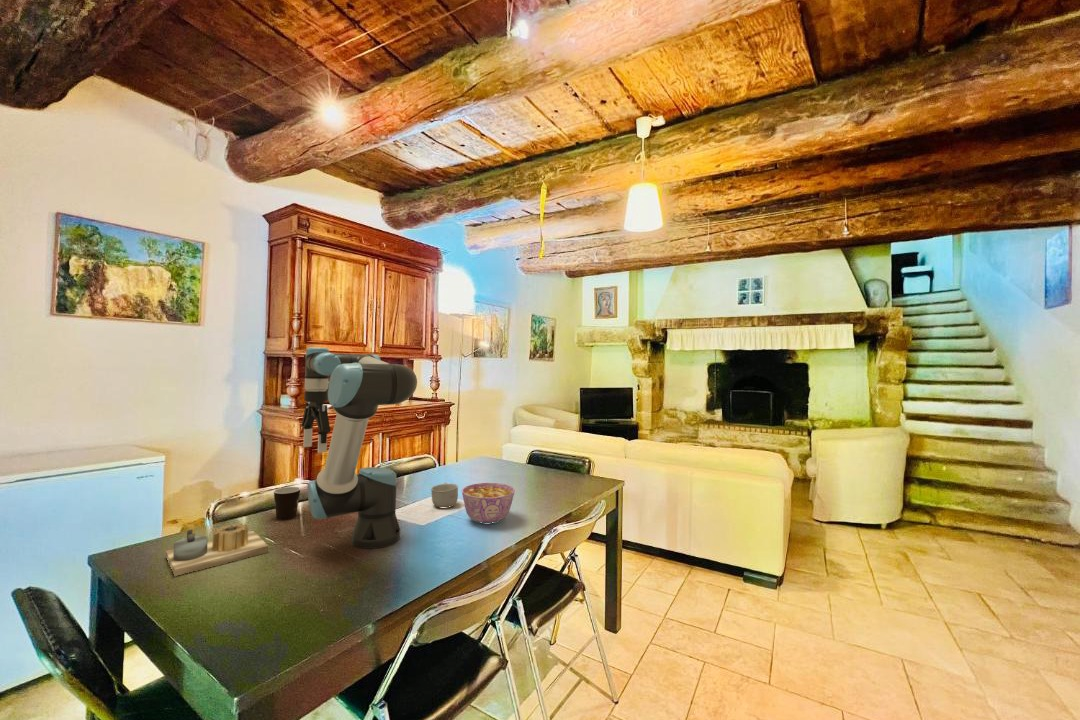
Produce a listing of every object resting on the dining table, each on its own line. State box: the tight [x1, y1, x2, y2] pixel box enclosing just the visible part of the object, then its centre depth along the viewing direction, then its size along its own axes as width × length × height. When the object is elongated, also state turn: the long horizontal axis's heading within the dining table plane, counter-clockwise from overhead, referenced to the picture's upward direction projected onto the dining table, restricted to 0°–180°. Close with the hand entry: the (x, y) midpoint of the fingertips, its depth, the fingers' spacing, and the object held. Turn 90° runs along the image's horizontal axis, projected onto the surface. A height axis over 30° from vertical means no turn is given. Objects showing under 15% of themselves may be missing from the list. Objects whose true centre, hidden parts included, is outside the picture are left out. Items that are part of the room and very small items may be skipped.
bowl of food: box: [461, 482, 516, 523], centre depth 164 cm, size 20×20×12 cm
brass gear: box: [211, 523, 250, 552], centre depth 132 cm, size 9×9×5 cm
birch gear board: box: [165, 526, 269, 577], centre depth 130 cm, size 16×22×8 cm
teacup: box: [430, 482, 459, 508], centre depth 181 cm, size 14×11×8 cm
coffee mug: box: [273, 486, 301, 521], centre depth 164 cm, size 12×9×10 cm
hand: (314, 449), depth 156 cm, fingers open, 13 cm apart
